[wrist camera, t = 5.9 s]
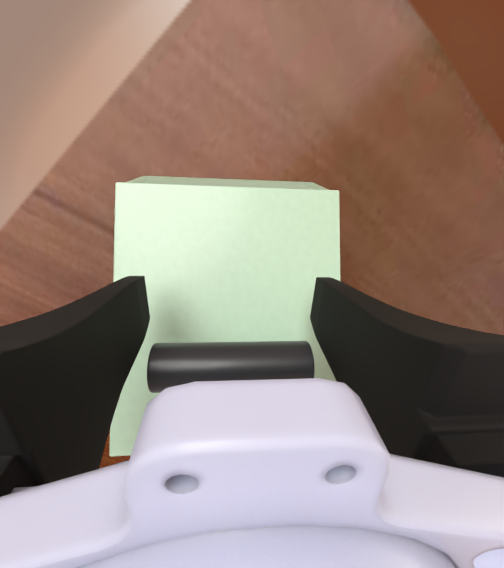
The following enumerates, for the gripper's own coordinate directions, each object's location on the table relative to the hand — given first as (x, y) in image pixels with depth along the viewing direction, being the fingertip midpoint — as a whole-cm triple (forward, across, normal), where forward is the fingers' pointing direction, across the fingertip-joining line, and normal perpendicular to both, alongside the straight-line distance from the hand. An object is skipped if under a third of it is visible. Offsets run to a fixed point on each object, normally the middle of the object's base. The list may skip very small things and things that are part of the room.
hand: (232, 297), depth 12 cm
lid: (+2, 0, +2) cm, 3 cm away
